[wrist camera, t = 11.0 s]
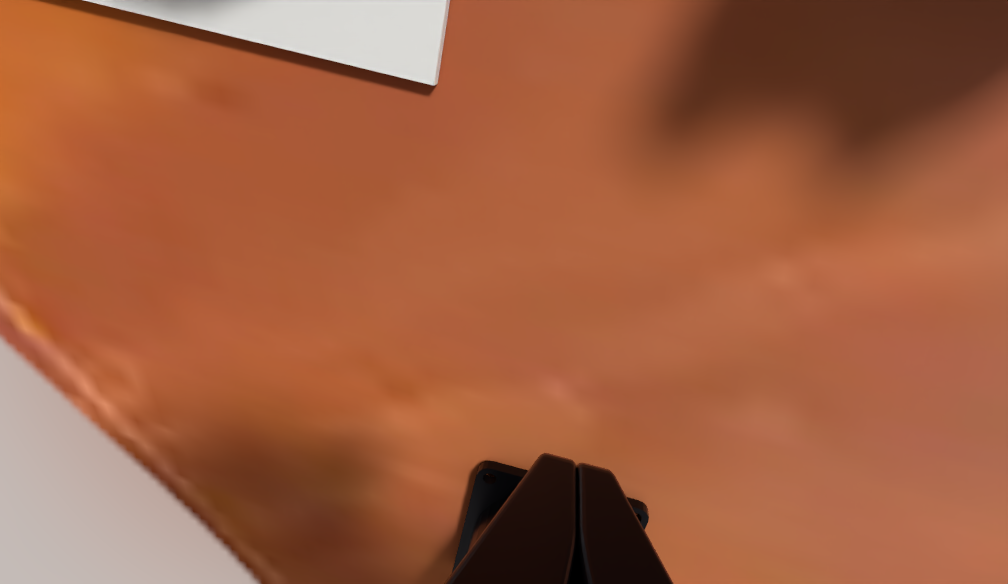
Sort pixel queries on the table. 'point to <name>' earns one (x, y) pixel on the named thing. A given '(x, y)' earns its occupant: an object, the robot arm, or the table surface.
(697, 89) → the table surface
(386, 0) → the mat
